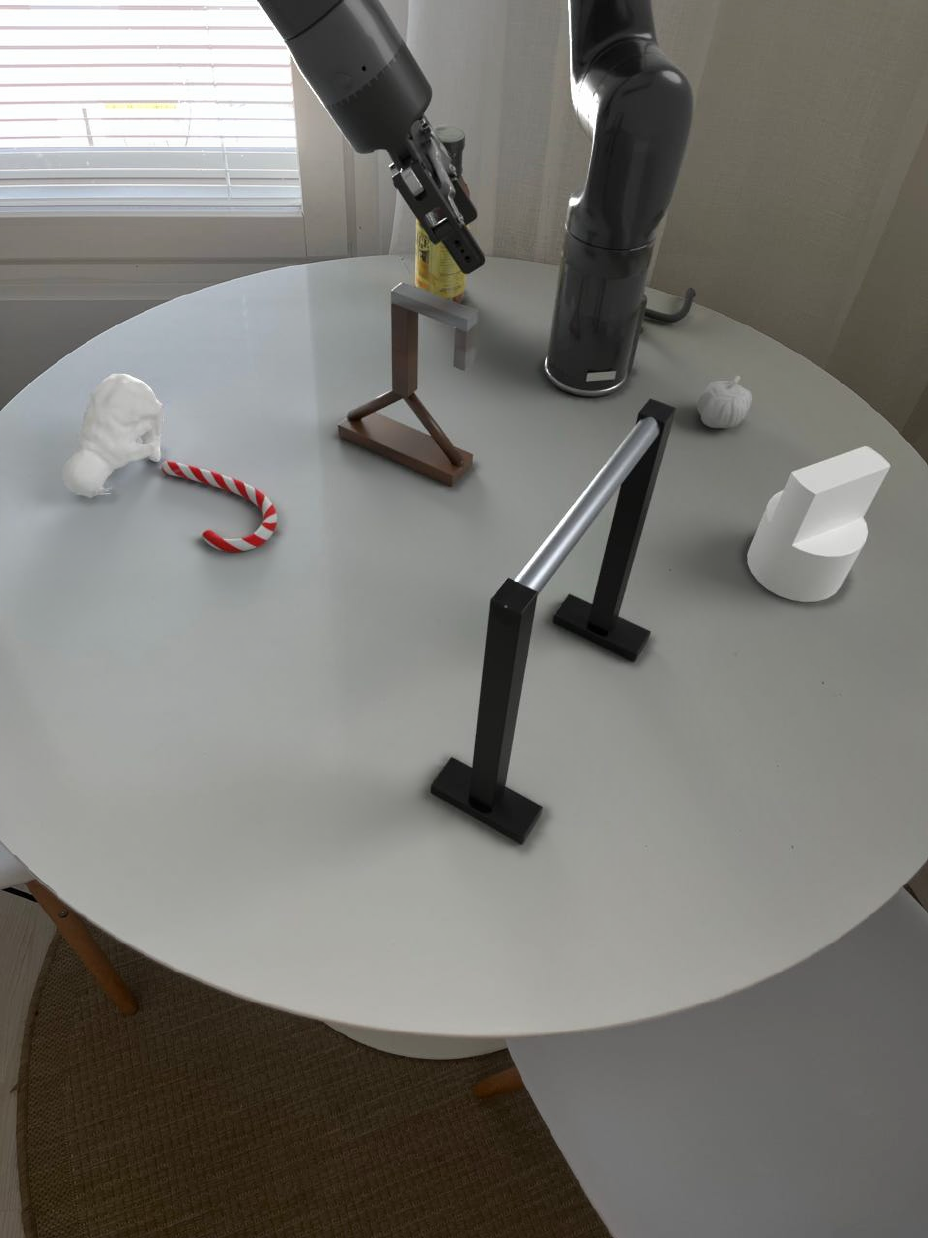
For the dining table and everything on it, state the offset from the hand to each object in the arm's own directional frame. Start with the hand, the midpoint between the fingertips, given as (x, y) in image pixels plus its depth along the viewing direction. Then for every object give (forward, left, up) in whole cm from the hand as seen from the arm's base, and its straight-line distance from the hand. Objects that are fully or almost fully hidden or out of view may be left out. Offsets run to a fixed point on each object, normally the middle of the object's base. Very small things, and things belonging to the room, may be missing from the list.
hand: (472, 243), depth 78 cm
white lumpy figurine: (+30, -17, -22) cm, 41 cm away
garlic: (-26, +13, -22) cm, 36 cm away
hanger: (+5, -3, -22) cm, 23 cm away
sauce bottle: (-16, -24, -22) cm, 36 cm away
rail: (+15, +30, -22) cm, 41 cm away
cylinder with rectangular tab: (-15, +32, -22) cm, 42 cm away
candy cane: (+25, -7, -22) cm, 34 cm away
